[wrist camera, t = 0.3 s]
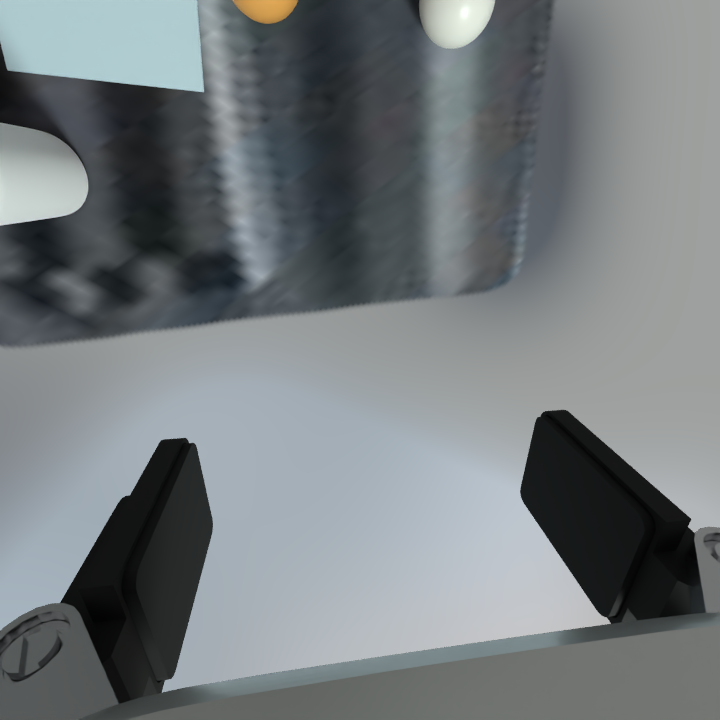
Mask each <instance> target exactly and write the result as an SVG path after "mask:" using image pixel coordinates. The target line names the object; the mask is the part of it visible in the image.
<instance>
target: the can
mask: <svg viewBox="0 0 720 720" xmlns="http://www.w3.org/2000/svg"><path fill="white" fill-rule="evenodd" d="M87 193H88V179H87V174H86V171H85V168H84V166H83V164H82V162H81V161H80V159H79V157H78V156H77V155H76V153H75V152H74V151H73V150H72V149H71V148H70V147H69V146H68V145H67V144H66V143H64V142H63V141H62V140H60V139H59V138H57V137H55V136H53V135H51V134H49V133H46V132H43V131H39V130H35V129H30V128H26V127H20V126H15V125H10V124H5V123H0V225H7V224H14V223H21V222H27V221H34V220H41V219H48V218H54V217H60V216H65V215H68V214H71V213H73V212H75V211H76V210H78V209H79V208H80V207H81V206H82V205H83V203H84V201H85V199H86V197H87Z"/></svg>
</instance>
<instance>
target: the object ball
mask: <svg viewBox="0 0 720 720" xmlns="http://www.w3.org/2000/svg"><path fill="white" fill-rule="evenodd" d="M233 2H234V3H235V5H236V6H237V7H238V8H239V10H241V11H242V12H243V13H244V14H245V15H246V16H248V17H249V18H251V19H253V20H254V21H257V22H260V23H265V24H271V23H276V22H279V21H281V20H283V19H285V18H286V17H287V16H288V15H289V14H290V13H291V12H292V11H293V9H294V8H295V6H296V4H297V2H298V0H233Z"/></svg>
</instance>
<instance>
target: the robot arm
mask: <svg viewBox="0 0 720 720" xmlns="http://www.w3.org/2000/svg"><path fill="white" fill-rule="evenodd" d="M520 493H521V498H522V500H523V502H524V504H525V505H526V507H527V508H528V510H529V511H530V513H531V514H532V516H533V517H534V519H535V520H536V522H537V523H538V524H539V526H540V527H541V529H542V530H543V532H544V533H545V535H546V536H547V538H548V539H549V541H550V542H551V543H552V545H553V547H554V548H555V549H556V551H557V552H558V554H559V555H560V557H561V558H562V560H563V561H564V563H565V564H566V566H567V567H568V569H569V570H570V572H571V573H572V574H573V576H574V577H575V579H576V580H577V582H578V583H579V585H580V586H581V588H582V589H583V591H584V592H585V594H586V595H587V597H588V598H589V599H590V601H591V602H592V604H593V605H594V607H595V608H596V610H597V611H598V612H599V613H600V614H601V615H602V616H604V617H607V618H608V620H609V621H610V622H611V624H607V625H600V626H593V627H585V628H578V629H571V630H563V631H557V632H549V633H543V634H534V635H527V636H520V637H514V638H506V639H499V640H492V641H486V642H478V643H471V644H465V645H457V646H451V647H444V648H437V649H431V650H423V651H416V652H409V653H403V654H396V655H389V656H382V657H375V658H369V659H362V660H355V661H349V662H342V663H336V664H329V665H323V666H316V667H310V668H303V669H296V670H289V671H282V672H276V673H270V674H263V675H257V676H252V677H245V678H239V679H234V680H228V681H222V682H216V683H210V684H204V685H198V686H192V687H186V688H182V689H177V690H172V691H168V692H163V693H161V692H162V689H163V685H164V681H165V680H167V679H171V678H172V677H173V675H174V673H175V670H176V667H177V663H178V659H179V655H180V652H181V648H182V644H183V640H184V637H185V633H186V629H187V626H188V622H189V618H190V614H191V610H192V607H193V603H194V599H195V595H196V592H197V588H198V584H199V580H200V576H201V573H202V569H203V565H204V562H205V558H206V554H207V550H208V547H209V543H210V539H211V535H212V528H213V521H212V516H211V511H210V506H209V502H208V498H207V493H206V488H205V484H204V479H203V474H202V470H201V465H200V461H199V456H198V451H197V447H196V445H195V444H194V443H189V442H188V440H187V439H186V438H180V439H166V440H161V442H160V443H159V445H158V447H157V448H156V450H155V452H154V454H153V455H152V457H151V459H150V461H149V463H148V464H147V466H146V468H145V470H144V471H143V474H142V475H141V477H140V479H139V480H138V482H137V484H136V486H135V488H134V489H133V491H132V493H131V495H130V496H125V497H123V498H122V499H121V500H120V502H119V503H118V504H117V506H116V508H115V510H114V511H113V513H112V515H111V516H110V518H109V520H108V522H107V523H106V525H105V527H104V528H103V530H102V532H101V534H100V535H99V537H98V539H97V540H96V542H95V544H94V546H93V547H92V549H91V551H90V552H89V554H88V556H87V558H86V559H85V561H84V563H83V565H82V566H81V568H80V570H79V571H78V573H77V575H76V577H75V578H74V580H73V582H72V583H71V585H70V587H69V589H68V590H67V592H66V594H65V595H64V597H63V599H62V601H61V602H60V603H54V604H48V605H45V606H42V607H38V608H35V609H33V610H31V611H29V612H27V613H25V614H23V615H21V616H20V617H18V618H17V619H15V620H14V621H12V622H11V623H9V624H8V625H7V626H5V627H4V628H3V629H2V630H1V631H0V720H720V528H717V527H705V528H700V529H699V530H698V531H697V532H695V533H694V532H693V531H692V530H691V529H689V528H688V525H689V522H690V521H691V518H689V517H688V516H687V515H686V514H685V513H684V512H683V511H681V510H680V509H679V508H678V507H677V506H676V505H675V504H673V503H672V502H671V501H670V500H669V499H668V498H667V497H665V496H664V495H663V494H662V493H661V492H660V491H659V490H657V489H656V488H655V487H654V486H653V485H652V484H650V483H649V482H648V481H647V480H646V479H645V478H644V477H642V476H641V475H640V474H639V473H638V472H637V471H636V470H635V469H633V468H632V467H631V466H630V465H629V464H627V463H626V462H625V461H624V460H623V459H622V458H621V457H620V456H618V455H617V454H616V453H615V452H614V451H613V450H612V449H610V448H609V447H608V446H607V445H606V444H605V443H604V442H602V441H601V440H600V439H599V438H598V437H596V435H594V434H593V433H592V432H591V431H590V430H589V429H588V428H586V427H585V426H584V425H583V424H582V423H581V422H579V421H578V420H577V419H576V418H575V417H574V416H573V415H571V414H570V413H569V412H568V411H566V410H557V411H545V412H543V413H542V414H541V417H538V418H537V419H536V422H535V426H534V431H533V435H532V440H531V444H530V449H529V453H528V458H527V462H526V467H525V471H524V475H523V480H522V484H521V490H520Z"/></svg>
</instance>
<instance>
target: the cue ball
mask: <svg viewBox="0 0 720 720" xmlns="http://www.w3.org/2000/svg"><path fill="white" fill-rule="evenodd" d="M494 4H495V0H419V13H420V19H421V23H422V26H423V29H424V31H425V33H426V34H427V36H428V37H429V38H430V40H431V41H432V42H434V43H435V44H436V45H438V46H440V47H443V48H447V49H456V48H460V47H463V46H465V45H467V44H469V43H470V42H472V41H473V40H474V39H475V38H477V37H478V35H479V34H480V33H481V32H482V31H483V29H484V28H485V26H486V25H487V23H488V21H489V19H490V17H491V14H492V11H493V8H494Z"/></svg>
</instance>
